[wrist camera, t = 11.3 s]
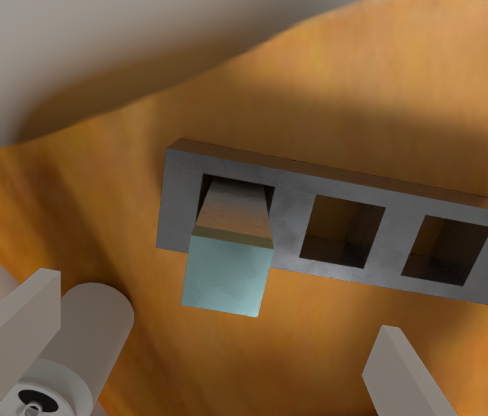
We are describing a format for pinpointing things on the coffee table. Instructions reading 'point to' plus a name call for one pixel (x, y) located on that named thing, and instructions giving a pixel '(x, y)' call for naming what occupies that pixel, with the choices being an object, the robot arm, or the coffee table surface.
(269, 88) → the coffee table surface
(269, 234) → the square peg
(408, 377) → the robot arm
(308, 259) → the rack rail
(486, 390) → the coffee table surface
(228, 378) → the coffee table surface
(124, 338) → the can
